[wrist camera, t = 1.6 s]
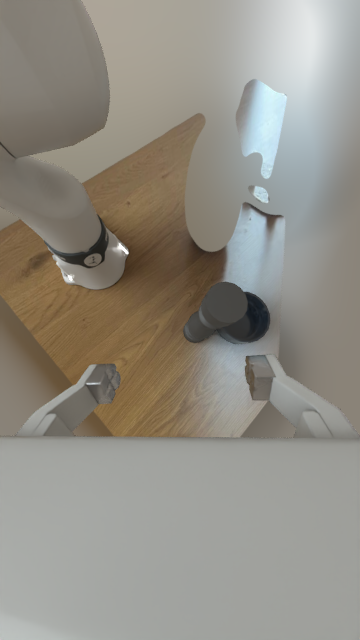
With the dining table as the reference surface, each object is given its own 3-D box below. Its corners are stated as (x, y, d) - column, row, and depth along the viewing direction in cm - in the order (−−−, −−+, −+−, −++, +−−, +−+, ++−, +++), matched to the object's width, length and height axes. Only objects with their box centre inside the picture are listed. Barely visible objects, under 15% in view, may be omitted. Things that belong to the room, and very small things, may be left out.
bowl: (204, 314, 49) (209, 308, 43) (239, 290, 51) (248, 282, 46) (232, 353, 47) (241, 353, 42) (267, 327, 50) (280, 323, 44)
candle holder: (209, 325, 48) (255, 291, 24) (201, 346, 47) (241, 332, 22) (188, 316, 48) (213, 272, 24) (179, 337, 47) (196, 313, 22)
